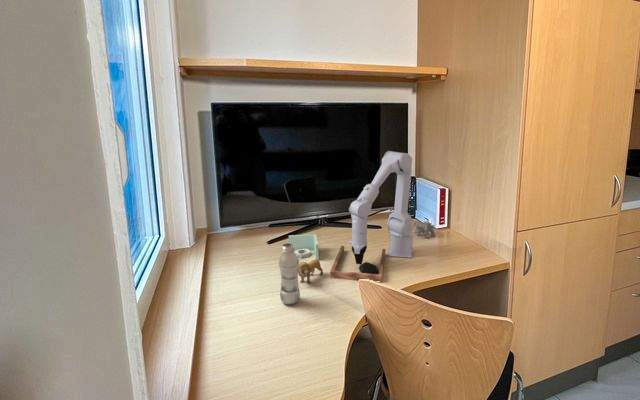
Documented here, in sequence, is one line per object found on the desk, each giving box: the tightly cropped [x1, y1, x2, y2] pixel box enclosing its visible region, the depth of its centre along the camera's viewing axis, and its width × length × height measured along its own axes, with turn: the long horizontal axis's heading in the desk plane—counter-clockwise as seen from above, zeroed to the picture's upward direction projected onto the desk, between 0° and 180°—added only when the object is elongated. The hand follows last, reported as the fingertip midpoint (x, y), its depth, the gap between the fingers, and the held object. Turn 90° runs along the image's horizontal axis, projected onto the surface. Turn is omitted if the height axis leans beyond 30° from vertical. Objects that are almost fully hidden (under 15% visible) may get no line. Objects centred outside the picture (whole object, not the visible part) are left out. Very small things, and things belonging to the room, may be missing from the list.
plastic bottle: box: [278, 242, 301, 305], centre depth 114 cm, size 6×7×20 cm
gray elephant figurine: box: [413, 221, 436, 239], centre depth 170 cm, size 9×12×8 cm
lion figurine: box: [298, 258, 324, 285], centre depth 131 cm, size 15×5×9 cm, turn 153°
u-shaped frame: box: [329, 245, 386, 283], centre depth 142 cm, size 19×25×2 cm
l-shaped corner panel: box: [288, 233, 320, 261], centre depth 151 cm, size 12×12×8 cm
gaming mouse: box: [358, 261, 379, 274], centre depth 137 cm, size 6×15×4 cm, turn 10°
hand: (359, 263), depth 140 cm, fingers closed
